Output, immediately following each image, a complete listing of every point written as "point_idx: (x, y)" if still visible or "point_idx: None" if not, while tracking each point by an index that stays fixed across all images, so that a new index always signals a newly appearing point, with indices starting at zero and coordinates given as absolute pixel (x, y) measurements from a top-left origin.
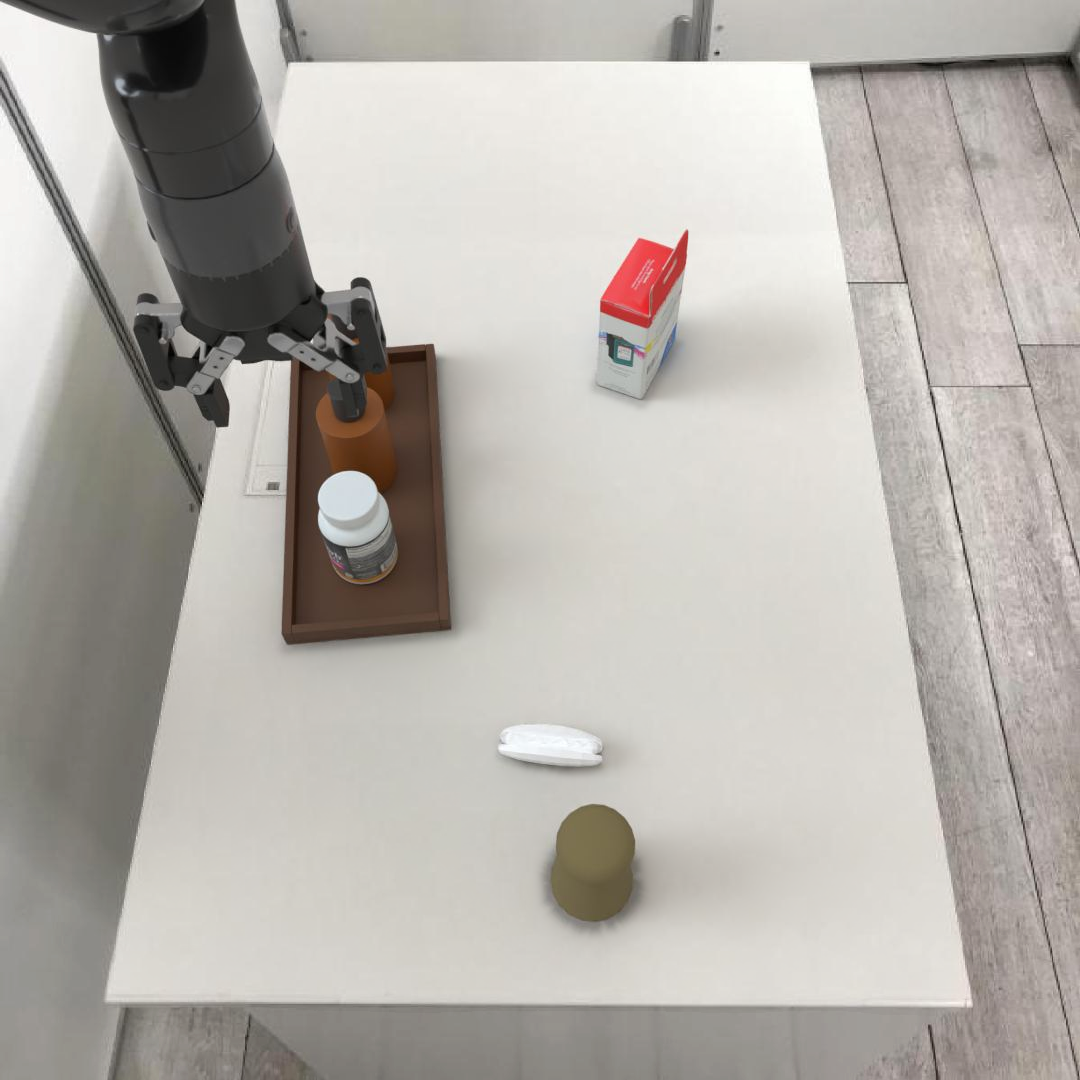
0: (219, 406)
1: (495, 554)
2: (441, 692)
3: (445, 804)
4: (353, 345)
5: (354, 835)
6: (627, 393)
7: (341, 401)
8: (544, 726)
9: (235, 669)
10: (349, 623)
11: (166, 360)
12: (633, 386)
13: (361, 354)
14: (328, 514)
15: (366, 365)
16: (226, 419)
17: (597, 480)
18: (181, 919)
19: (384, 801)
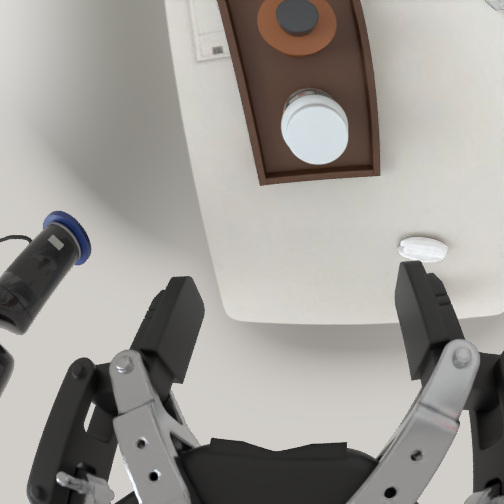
0: (191, 349)
1: (408, 112)
2: (367, 210)
3: (364, 266)
4: (471, 390)
5: (318, 277)
6: (488, 2)
7: (298, 32)
8: (425, 247)
9: (232, 195)
10: (308, 177)
11: (112, 450)
12: (498, 5)
13: (473, 405)
14: (301, 158)
15: (469, 412)
16: (199, 312)
17: (473, 64)
18: (243, 303)
19: (333, 264)
